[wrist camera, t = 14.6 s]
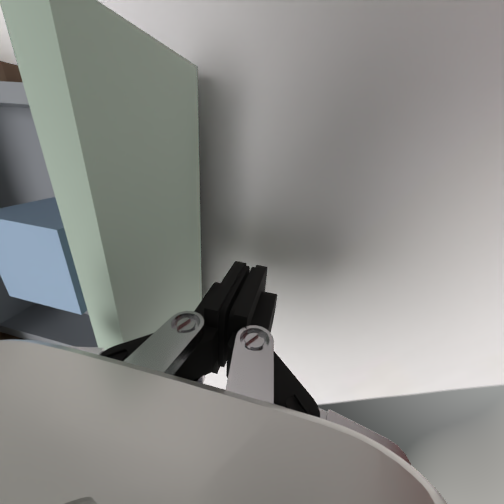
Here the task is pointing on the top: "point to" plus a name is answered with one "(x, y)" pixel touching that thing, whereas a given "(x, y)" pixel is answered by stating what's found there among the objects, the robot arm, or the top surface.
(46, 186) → the tray
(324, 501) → the robot arm
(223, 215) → the top surface
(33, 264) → the blue block
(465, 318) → the top surface
